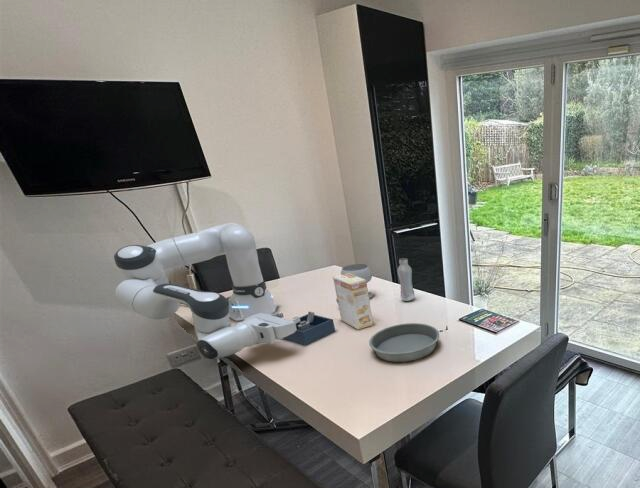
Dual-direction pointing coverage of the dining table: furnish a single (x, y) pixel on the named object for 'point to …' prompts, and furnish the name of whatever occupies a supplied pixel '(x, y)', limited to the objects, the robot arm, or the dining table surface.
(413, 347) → the cake pan
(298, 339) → the basket
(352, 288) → the coffeecake box
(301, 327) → the lighter
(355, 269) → the chalice
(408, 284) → the plastic bottle
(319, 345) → the dining table surface
